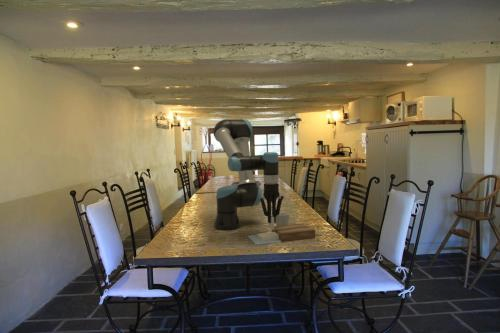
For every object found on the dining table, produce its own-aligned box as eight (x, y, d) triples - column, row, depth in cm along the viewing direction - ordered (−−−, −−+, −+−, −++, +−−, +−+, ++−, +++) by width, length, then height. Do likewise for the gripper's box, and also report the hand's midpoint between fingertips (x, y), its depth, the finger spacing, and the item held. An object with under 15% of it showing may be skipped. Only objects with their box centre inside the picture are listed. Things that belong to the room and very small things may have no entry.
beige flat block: (258, 237, 166) (258, 233, 166) (274, 235, 169) (274, 231, 169) (261, 240, 160) (261, 237, 160) (278, 238, 163) (278, 235, 163)
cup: (269, 228, 183) (269, 214, 182) (271, 224, 191) (270, 211, 190) (289, 229, 181) (289, 215, 180) (289, 225, 189) (289, 211, 188)
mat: (247, 236, 169) (247, 235, 169) (270, 233, 173) (270, 233, 173) (256, 245, 155) (256, 244, 155) (281, 242, 159) (281, 241, 159)
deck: (272, 233, 173) (271, 226, 172) (302, 230, 178) (302, 223, 178) (282, 241, 159) (282, 233, 159) (315, 237, 165) (315, 230, 164)
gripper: (261, 184, 157) (262, 232, 159) (286, 183, 161) (286, 229, 163) (256, 182, 165) (257, 228, 167) (280, 181, 168) (280, 225, 170)
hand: (271, 228), depth 165 cm, fingers closed
